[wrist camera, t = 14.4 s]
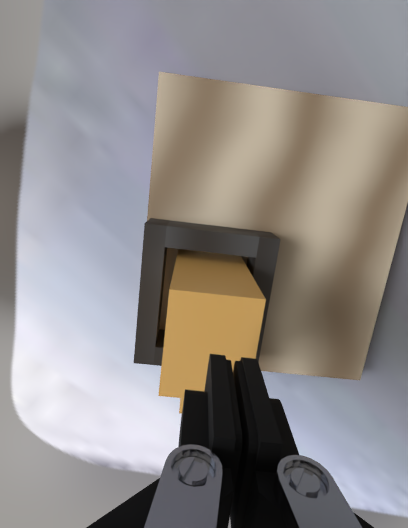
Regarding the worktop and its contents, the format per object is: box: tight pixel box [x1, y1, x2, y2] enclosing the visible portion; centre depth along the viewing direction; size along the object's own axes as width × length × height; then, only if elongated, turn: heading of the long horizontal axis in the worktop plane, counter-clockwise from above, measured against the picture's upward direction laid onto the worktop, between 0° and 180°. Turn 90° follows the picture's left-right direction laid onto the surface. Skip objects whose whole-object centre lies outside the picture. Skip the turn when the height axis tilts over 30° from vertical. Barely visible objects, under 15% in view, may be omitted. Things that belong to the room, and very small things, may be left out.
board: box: [134, 72, 408, 380], centre depth 21 cm, size 16×18×4 cm
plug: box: [159, 249, 266, 413], centre depth 18 cm, size 4×6×8 cm
